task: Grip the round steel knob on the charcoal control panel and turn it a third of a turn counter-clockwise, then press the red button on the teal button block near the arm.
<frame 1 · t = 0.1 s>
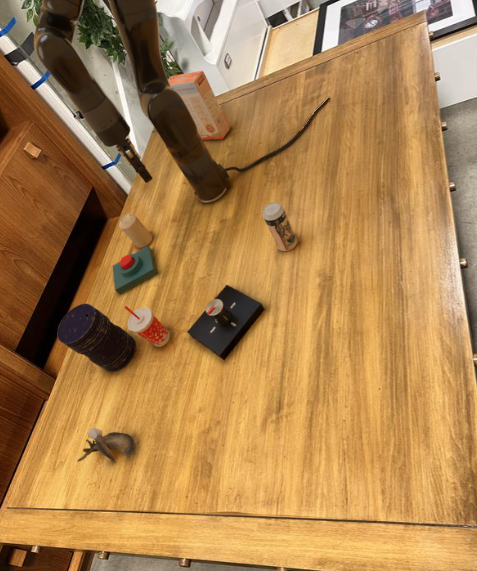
hand: (144, 173, 103), 17 cm above the table, tool pointing down, fingers open, 8 cm apart
dial: (218, 312, 82), point 5 cm above the table, hinge at 0.0°
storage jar: (119, 353, 94), on the table
button block: (136, 271, 109), on the table
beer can: (288, 244, 92), on the table
button: (127, 262, 105), point 4 cm above the table, slide at 0.1 cm
beverage cup: (161, 338, 91), on the table
control panel: (227, 323, 86), on the table
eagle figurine: (115, 451, 79), on the table
cracker box: (211, 135, 136), on the table
candle: (145, 241, 116), on the table
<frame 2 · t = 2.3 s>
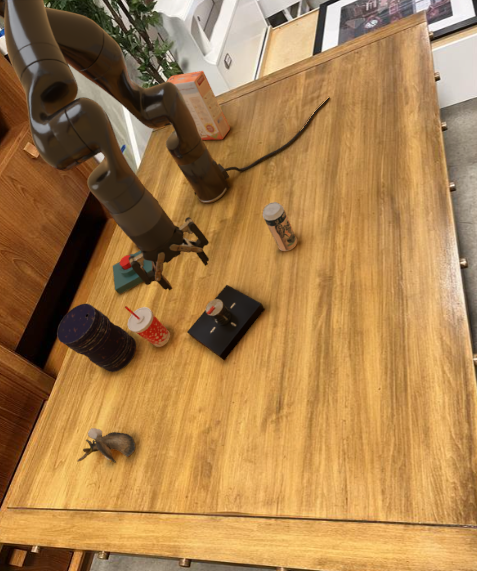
hand: (187, 274, 77), 15 cm above the table, tool pointing down, fingers open, 8 cm apart
nothing on the table moved.
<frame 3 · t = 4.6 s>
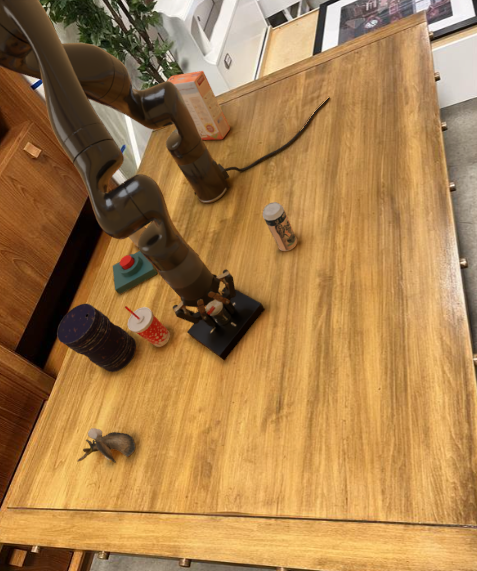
hand: (222, 316, 84), 3 cm above the table, tool pointing down, fingers closed on dial, 4 cm apart
dial: (218, 312, 82), point 5 cm above the table, hinge at -0.2°, touching gripper
everything else where it was.
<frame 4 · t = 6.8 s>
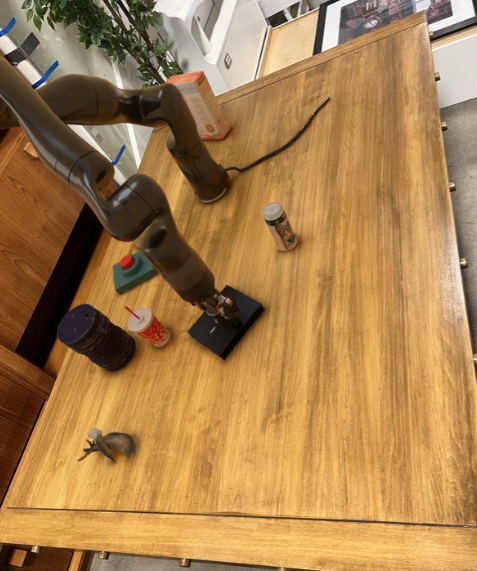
hand: (224, 319, 83), 3 cm above the table, tool pointing down, fingers open, 5 cm apart
dial: (218, 312, 82), point 5 cm above the table, hinge at 126.5°
everything else where it was.
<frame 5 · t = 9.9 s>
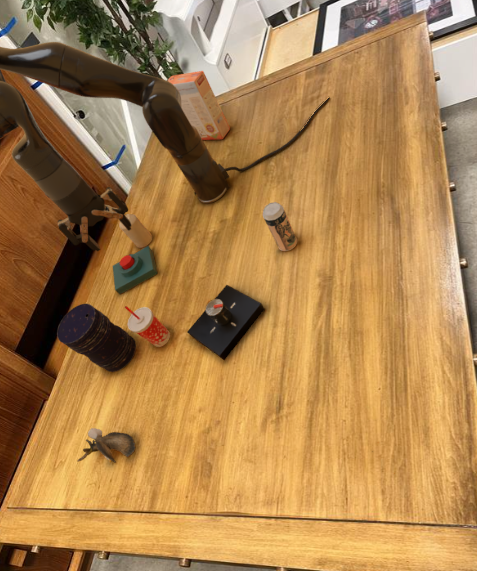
hand: (113, 238, 90), 18 cm above the table, tool pointing down, fingers open, 8 cm apart
nothing on the table moved.
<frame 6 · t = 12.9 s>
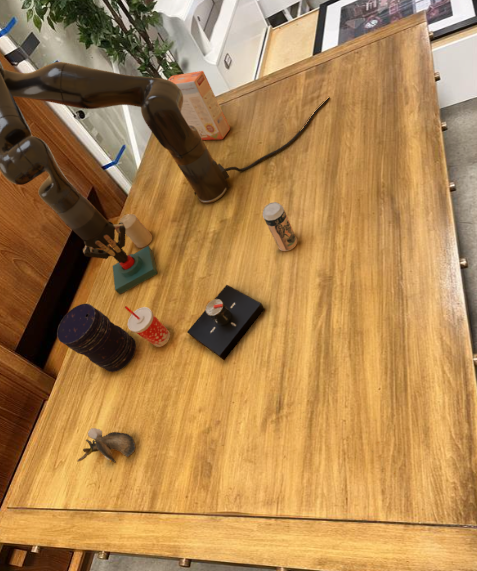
hand: (124, 260, 105), 5 cm above the table, tool pointing down, fingers closed
button: (127, 262, 105), point 4 cm above the table, slide at 0.1 cm, touching gripper
everything else where it was.
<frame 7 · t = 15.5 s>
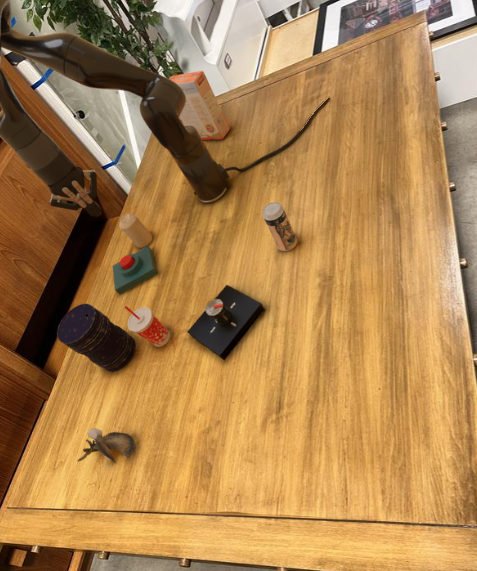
hand: (98, 214, 94), 20 cm above the table, tool pointing down, fingers closed
button: (127, 262, 105), point 4 cm above the table, slide at 0.1 cm
everything else where it was.
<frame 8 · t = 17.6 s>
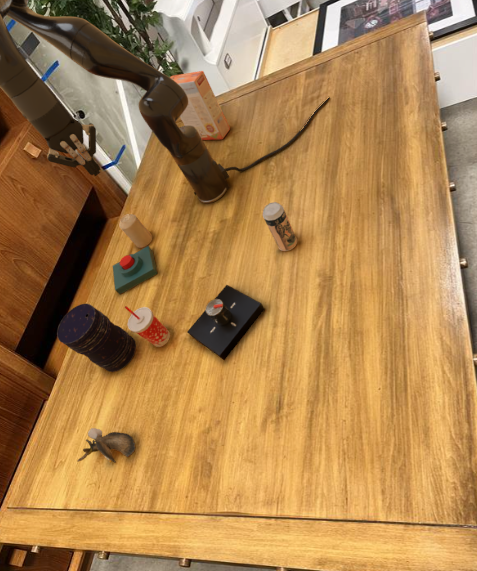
hand: (97, 173, 92), 27 cm above the table, tool pointing down, fingers closed
nothing on the table moved.
at the end: dial at +126° (first picture: +0°); button pushed in 1.2 cm at the most during the clip, back to where it started at the end; button slide at 0.1 cm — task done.
